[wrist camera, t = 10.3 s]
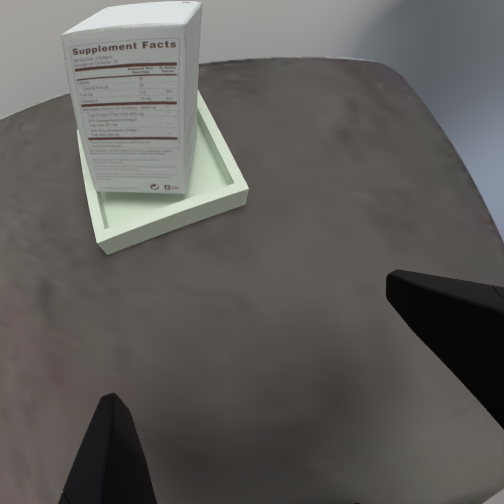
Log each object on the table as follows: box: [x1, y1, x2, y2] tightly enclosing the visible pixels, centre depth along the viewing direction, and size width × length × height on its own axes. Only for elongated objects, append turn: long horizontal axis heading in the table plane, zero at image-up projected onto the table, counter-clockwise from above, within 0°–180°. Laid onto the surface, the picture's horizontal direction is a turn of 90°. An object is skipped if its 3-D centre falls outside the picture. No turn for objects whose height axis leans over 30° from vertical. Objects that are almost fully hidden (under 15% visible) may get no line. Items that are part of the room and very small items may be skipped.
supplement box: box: [61, 1, 202, 194], centre depth 19 cm, size 7×7×13 cm
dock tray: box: [77, 91, 249, 255], centre depth 24 cm, size 12×12×2 cm
